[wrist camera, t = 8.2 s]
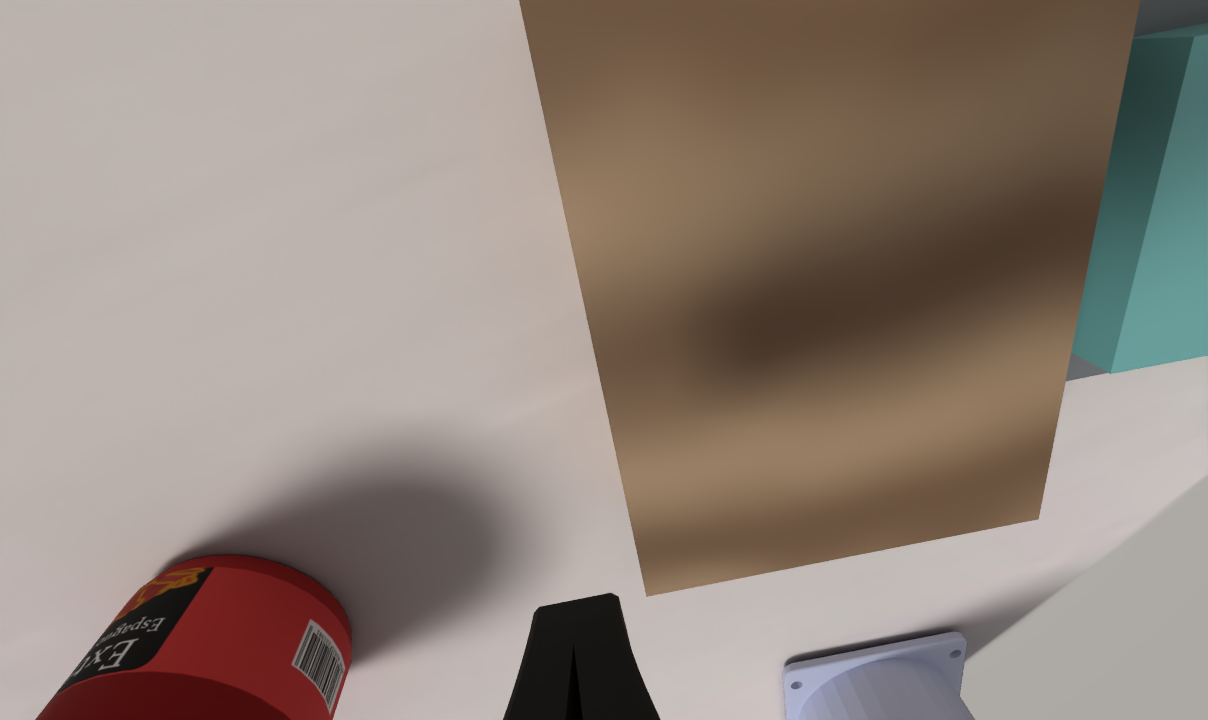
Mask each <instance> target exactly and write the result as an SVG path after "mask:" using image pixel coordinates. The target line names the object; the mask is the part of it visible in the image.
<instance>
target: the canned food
mask: <svg viewBox="0 0 1208 720" xmlns="http://www.w3.org/2000/svg"><path fill="white" fill-rule="evenodd" d="M350 664H351V628H350V624H349V621H348V617H347V615H346V614H345V612H344V610H343V609H342V607H341V605H340V604H339V602H338V601H337V600H336V599H335V598H334V597H333V596H332V595H331V594H330V593H329V591H327V590H326V589H325V588H323V587H322V586H321V585H320V584H318V583H317V582H316V581H314V580H313V579H311V578H309V577H307V576H306V575H304V574H302V573H300V572H298V571H297V570H294V569H292V568H289V567H286V566H284V565H281V564H279V563H276V562H272V561H268V560H264V559H260V558H256V557H247V556H238V555H213V556H206V557H201V558H195V559H191V560H188V561H185V562H182V563H180V564H177V565H174V566H173V567H171V568H169V569H168V570H166V571H165V572H163V573H162V574H160V575H159V576H157V577H156V578H154V579H153V580H152V581H150V582H149V583H147V584H146V585H144V586H143V587H142V588H140V589H139V590H138V591H137V592H136V594H135V595H134V596H133V597H132V598H131V599H130V600H129V601H128V602H127V604H126V605H125V606H124V608H123V609H122V610H121V611H120V613H119V614H118V615H117V616H116V618H115V619H114V620H113V622H112V623H111V624H110V625H109V627H108V628H107V629H106V630H105V632H104V633H103V634H102V636H101V637H100V638H99V639H98V641H97V642H96V643H95V644H94V646H93V647H92V648H91V650H90V651H89V652H88V653H87V655H86V656H85V657H84V658H83V660H82V661H81V662H80V664H79V665H78V666H77V667H76V669H75V670H74V671H73V672H72V674H71V675H70V676H69V678H68V679H67V680H66V681H65V683H64V684H63V685H62V686H61V688H60V689H59V690H58V692H57V693H56V694H55V695H54V697H53V698H52V699H51V700H50V702H49V703H48V704H47V706H46V707H45V708H44V709H43V711H42V712H41V713H40V714H39V716H38V717H37V718H36V720H333V717H334V713H335V710H336V707H337V704H338V701H339V698H340V695H341V692H342V689H343V686H344V683H345V680H346V676H347V673H348V670H349V667H350Z"/></svg>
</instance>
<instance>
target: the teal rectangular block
mask: <svg viewBox="0 0 1208 720" xmlns="http://www.w3.org/2000/svg"><path fill="white" fill-rule="evenodd" d="M1071 352H1072V353H1074V354H1076V355H1077V356H1079V357H1081V358H1083V359H1085V360H1086V361H1088V362H1090V363H1092V364H1094V365H1095V366H1097V367H1099V368H1101V369H1103V370H1104V371H1106V372H1108V373H1110V374H1112V373H1118V372H1123V371H1128V370H1134V369H1139V368H1144V367H1149V366H1155V365H1160V364H1165V363H1171V362H1176V361H1181V360H1187V359H1192V358H1197V357H1202V356H1208V23H1204V24H1199V25H1194V26H1188V27H1183V28H1178V29H1173V30H1167V31H1162V32H1157V33H1152V34H1147V35H1141V36H1136V37H1133V40H1132V45H1131V50H1130V55H1129V60H1128V65H1127V70H1126V76H1125V81H1124V86H1123V91H1122V96H1121V101H1120V106H1119V111H1118V116H1117V121H1116V127H1115V132H1114V137H1113V142H1112V147H1111V152H1110V157H1109V162H1108V167H1107V172H1106V177H1105V183H1104V188H1103V193H1102V198H1101V203H1100V208H1099V213H1098V218H1097V223H1096V228H1095V234H1094V239H1093V244H1092V249H1091V254H1090V259H1089V264H1088V269H1087V274H1086V279H1085V284H1084V290H1083V295H1082V300H1081V305H1080V310H1079V315H1078V320H1077V325H1076V330H1075V335H1074V341H1073V346H1072V351H1071Z"/></svg>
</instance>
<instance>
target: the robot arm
mask: <svg viewBox="0 0 1208 720" xmlns="http://www.w3.org/2000/svg"><path fill="white" fill-rule="evenodd" d="M966 648H967V640H966V639H965V638H964V636H963V635H962V634H961V633H959V632H948V633H943V634H938V635H933V636H928V637H923V638H918V639H913V640H907V641H902V642H897V643H892V644H887V645H882V646H877V647H872V648H867V649H862V650H857V651H851V652H846V653H841V654H836V655H831V656H826V657H821V658H816V659H811V660H806V661H800V662H795V663H791V664H788V665H787V666H785V668H784V669H783V671H782V678H783V691H784V705H785V719H786V720H975V719H974V718H973V716H972V714H971V713H970V711H969V710H968V708H967V707H966V705H965V704H964V702H963V701H962V699H961V697H960V690H961V683H962V676H963V669H964V662H965V655H966ZM503 720H660V718H659V715H658V713H657V711H656V709H655V706H654V704H653V702H652V700H651V698H650V695H649V693H648V691H647V689H646V686H645V684H644V681H643V679H642V677H641V674H640V672H639V669H638V666H637V664H636V661H635V658H634V655H633V653H632V650H631V646H630V642H629V638H628V634H627V629H626V625H625V621H624V617H623V613H622V609H621V605H620V601H619V597H618V596H616V595H614V594H612V593H607V594H602V595H597V596H592V597H587V598H582V599H577V600H572V601H567V602H562V603H557V604H552V605H547V606H542V607H539V608H538V609H537V610H536V611H535V612H534V615H533V620H532V624H531V629H530V633H529V637H528V641H527V645H526V648H525V652H524V656H523V659H522V663H521V666H520V669H519V673H518V676H517V679H516V682H515V686H514V689H513V692H512V695H511V698H510V701H509V704H508V707H507V710H506V713H505V715H504V718H503Z"/></svg>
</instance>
